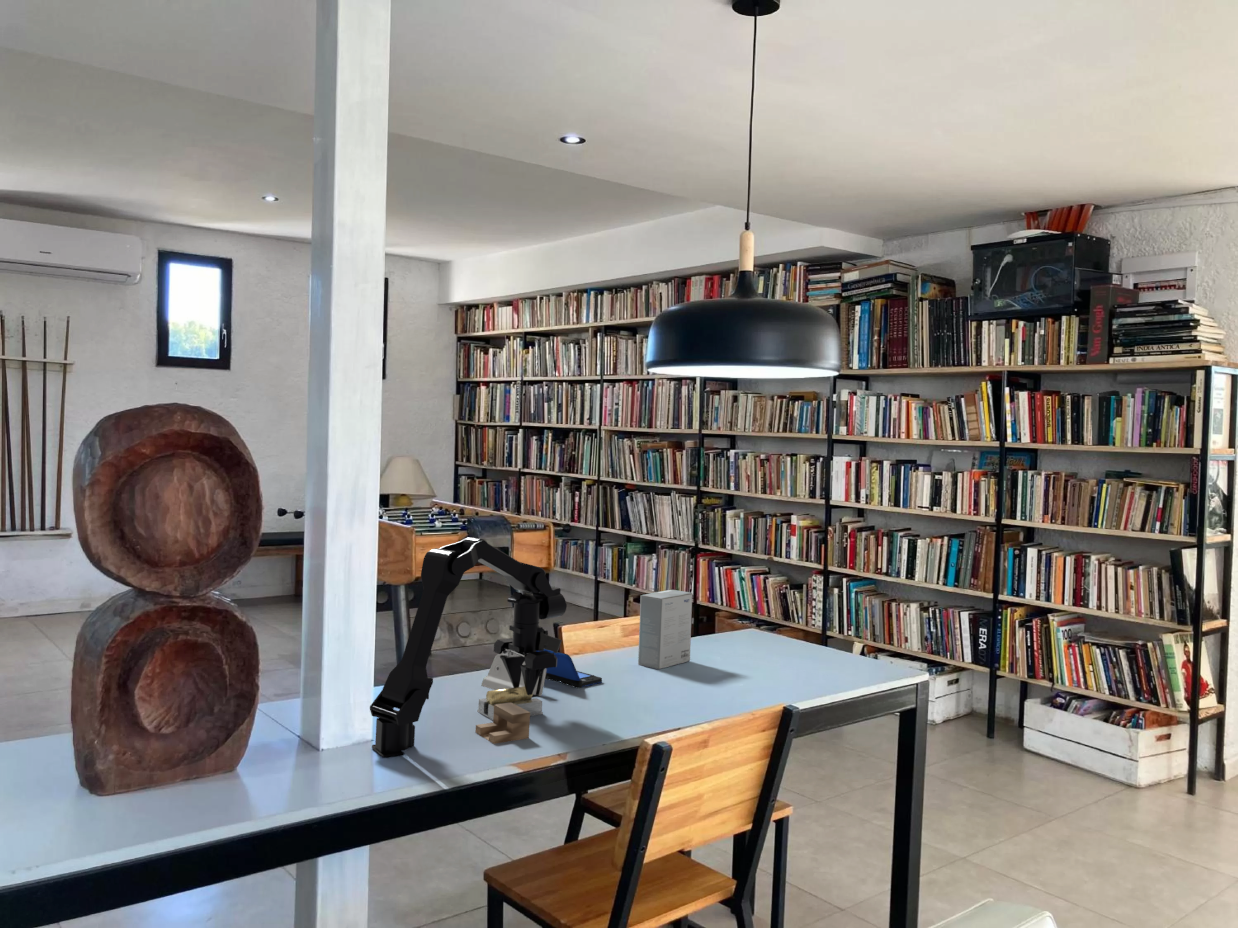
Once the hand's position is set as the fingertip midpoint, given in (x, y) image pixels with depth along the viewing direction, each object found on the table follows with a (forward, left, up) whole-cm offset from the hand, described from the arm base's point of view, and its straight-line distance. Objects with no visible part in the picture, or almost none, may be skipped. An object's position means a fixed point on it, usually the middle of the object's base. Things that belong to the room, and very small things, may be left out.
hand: (522, 691), depth 206 cm
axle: (-3, 0, -2) cm, 4 cm away
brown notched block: (-12, -13, -5) cm, 18 cm away
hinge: (+9, +19, -6) cm, 22 cm away
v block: (-3, 0, -5) cm, 6 cm away
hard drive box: (+61, +26, -5) cm, 67 cm away
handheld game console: (+25, +21, -6) cm, 33 cm away
